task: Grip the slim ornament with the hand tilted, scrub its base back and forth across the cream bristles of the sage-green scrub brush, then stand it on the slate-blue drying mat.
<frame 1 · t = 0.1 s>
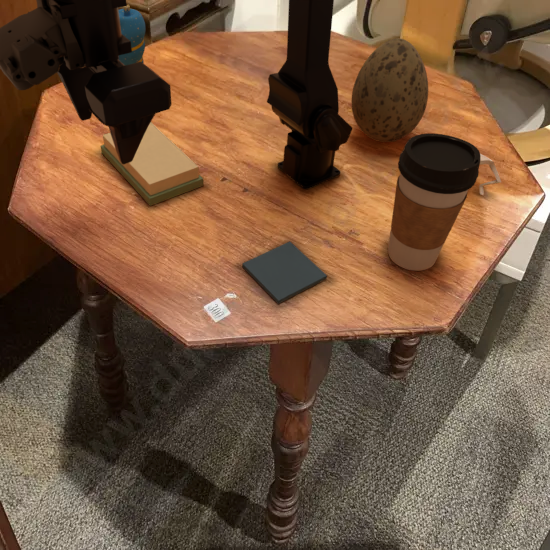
hand: (105, 139, 61), 15 cm above the table, tool pointing down, fingers open, 9 cm apart
coffee cup: (411, 255, 74), on the table
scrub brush: (151, 168, 83), on the table
drying mat: (284, 272, 70), on the table
origami figure: (450, 185, 84), on the table
ornament: (135, 99, 96), on the table
decorative egg: (380, 138, 92), on the table
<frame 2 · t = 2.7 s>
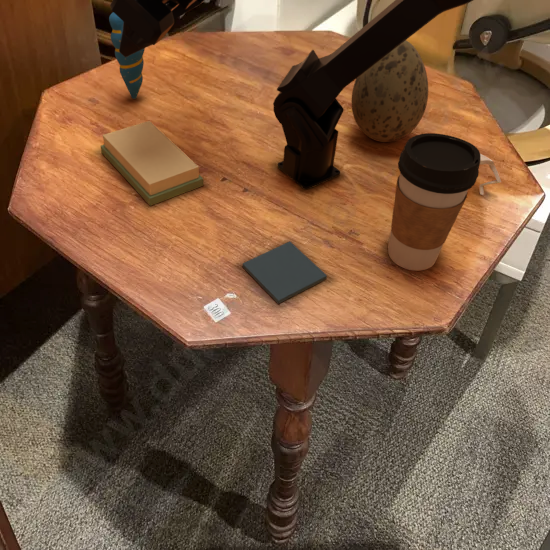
hand: (139, 39, 79), 14 cm above the table, tool tilted 35°, fingers open, 9 cm apart
nothing on the table moved.
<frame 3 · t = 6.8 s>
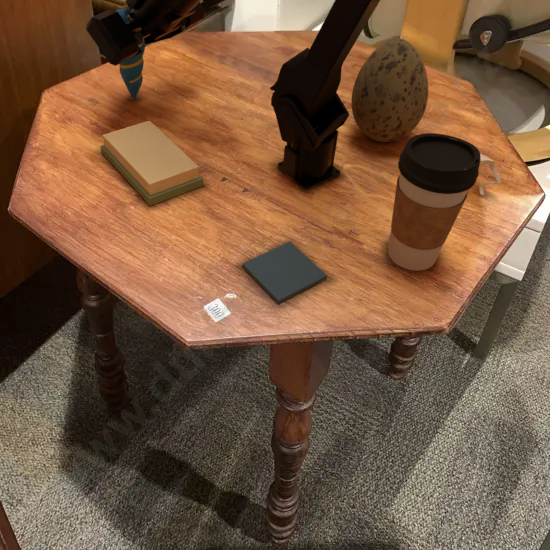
hand: (123, 49, 91), 8 cm above the table, tool tilted 45°, fingers closed on ornament, 5 cm apart
ornament: (135, 99, 96), on the table, touching gripper
everything else where it was.
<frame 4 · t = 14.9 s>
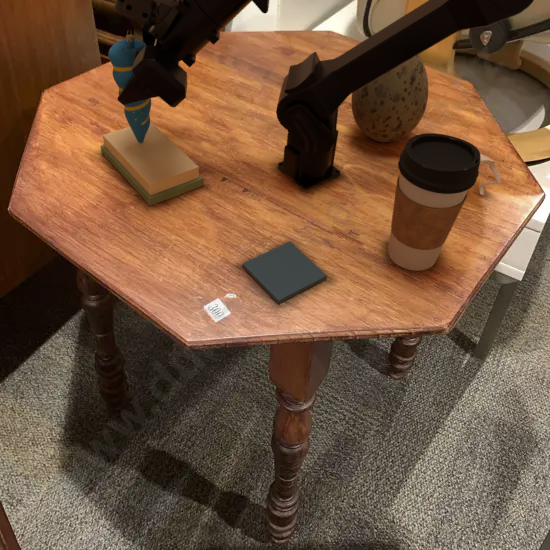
hand: (123, 91, 77), 10 cm above the table, tool tilted 45°, fingers closed on ornament, 5 cm apart
ornament: (141, 142, 82), point 3 cm above the table, touching gripper
everything else where it was.
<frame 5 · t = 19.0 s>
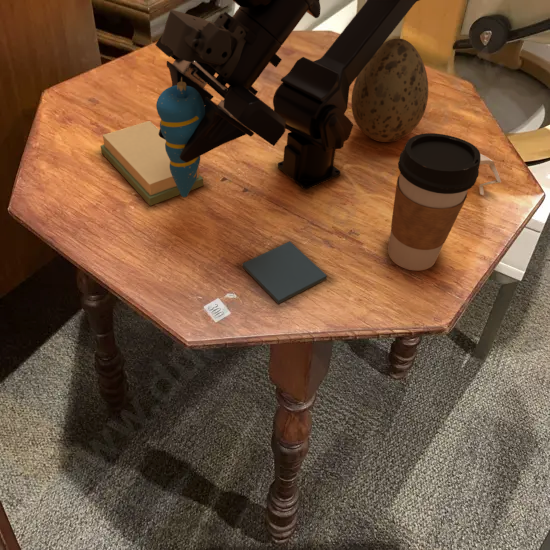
hand: (172, 148, 66), 12 cm above the table, tool tilted 45°, fingers closed on ornament, 5 cm apart
ornament: (184, 196, 72), point 4 cm above the table, touching gripper
everything else where it was.
when the fingers open (8 cm above the table, at t = 23.0 s): ornament stays where it is, resting on drying mat.
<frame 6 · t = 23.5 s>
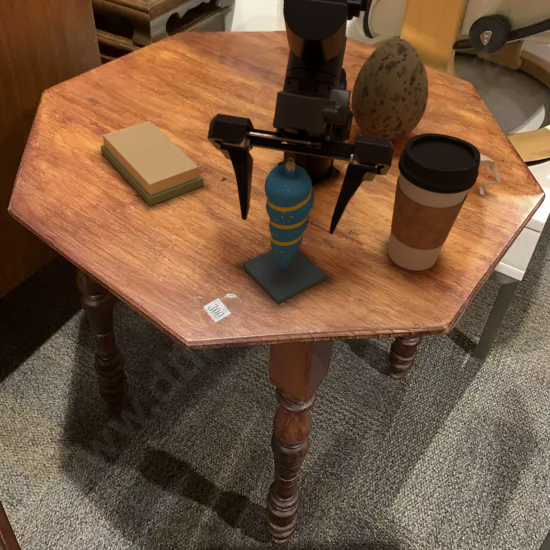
hand: (287, 226, 63), 8 cm above the table, tool tilted 45°, fingers open, 9 cm apart
ornament: (281, 270, 70), resting on drying mat
everything else where it was.
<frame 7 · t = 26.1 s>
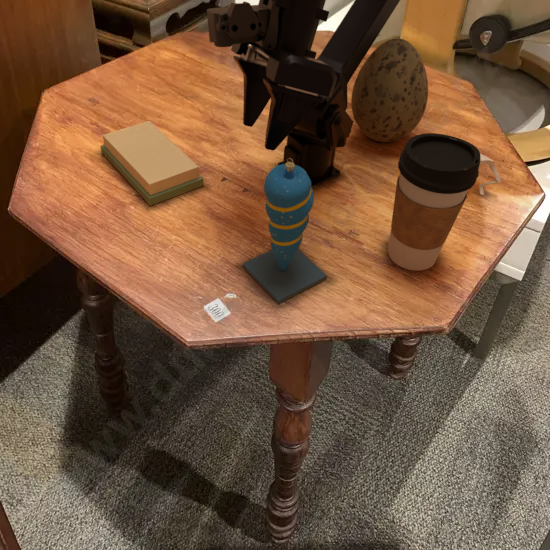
hand: (257, 136, 68), 12 cm above the table, tool tilted 25°, fingers open, 9 cm apart
nothing on the table moved.
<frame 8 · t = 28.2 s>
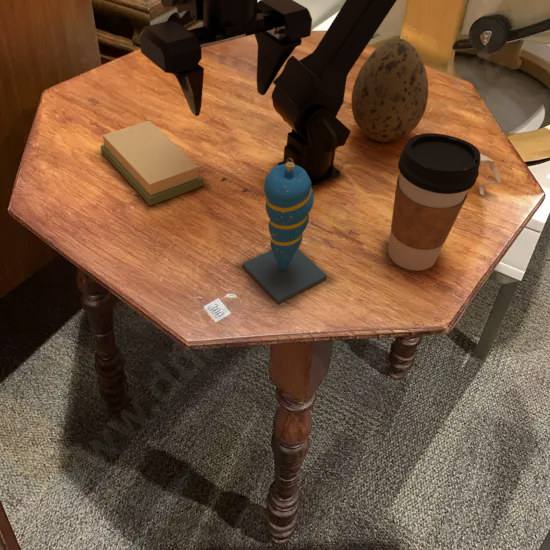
hand: (229, 103, 71), 13 cm above the table, tool pointing down, fingers open, 9 cm apart
nothing on the table moved.
at the end: ornament 0.3 cm off-centre on the drying mat, point 0.4 cm above the drying mat's base; ornament tilted 0°; the gripper is holding nothing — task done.
